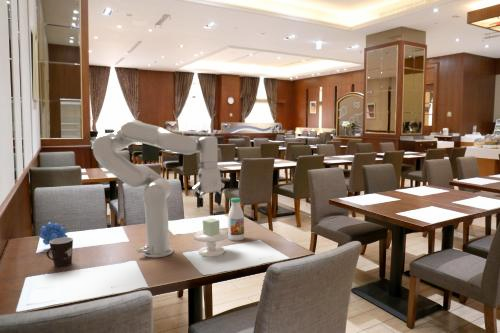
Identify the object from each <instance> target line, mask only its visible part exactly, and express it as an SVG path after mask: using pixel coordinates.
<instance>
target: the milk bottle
mask: <svg viewBox="0 0 500 333" xmlns="http://www.w3.org/2000/svg"><path fill="white" fill-rule="evenodd" d="M230 204H231V206H230V209H229V211H228V214H227V215H228V216H227V219H228V220H227V221H228V222H227V223H228V224H227V226H228V229H227V232H228V240H230V241H233V242H234V241H235V242H236V241H243V240H244V239H245V214H244V211H243V209H242V206H241V197H231V198H230Z"/></svg>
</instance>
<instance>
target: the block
mask: <svg viewBox="0 0 500 333" xmlns="http://www.w3.org/2000/svg"><path fill="white" fill-rule="evenodd" d="M219 229H220V220H219V219H216V218H207V219H204V220H202V230H203V234H205V235H208V236H214V235H217V234H220V230H221V229H220V230H219Z"/></svg>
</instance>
